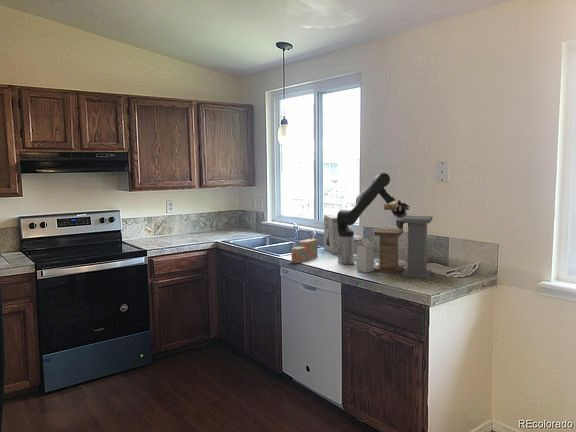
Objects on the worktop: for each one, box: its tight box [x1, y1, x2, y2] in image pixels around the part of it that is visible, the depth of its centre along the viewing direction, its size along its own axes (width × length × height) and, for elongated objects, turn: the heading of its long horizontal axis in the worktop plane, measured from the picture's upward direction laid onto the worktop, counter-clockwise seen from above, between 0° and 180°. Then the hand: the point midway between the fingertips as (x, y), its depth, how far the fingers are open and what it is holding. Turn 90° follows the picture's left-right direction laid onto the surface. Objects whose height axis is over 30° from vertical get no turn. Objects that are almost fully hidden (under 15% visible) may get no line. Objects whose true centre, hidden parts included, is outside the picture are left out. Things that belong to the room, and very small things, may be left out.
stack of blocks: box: [290, 238, 319, 264], centre depth 302 cm, size 21×6×12 cm, turn 143°
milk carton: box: [356, 237, 375, 273], centre depth 268 cm, size 7×7×19 cm
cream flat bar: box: [383, 200, 399, 211], centre depth 271 cm, size 23×6×3 cm, turn 156°
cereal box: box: [323, 213, 339, 255], centre depth 327 cm, size 22×8×25 cm, turn 10°
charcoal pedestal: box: [401, 215, 433, 279], centre depth 256 cm, size 14×14×32 cm
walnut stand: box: [373, 228, 404, 274], centre depth 269 cm, size 14×14×23 cm
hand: (395, 201), depth 277 cm, fingers closed on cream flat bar, 3 cm apart
